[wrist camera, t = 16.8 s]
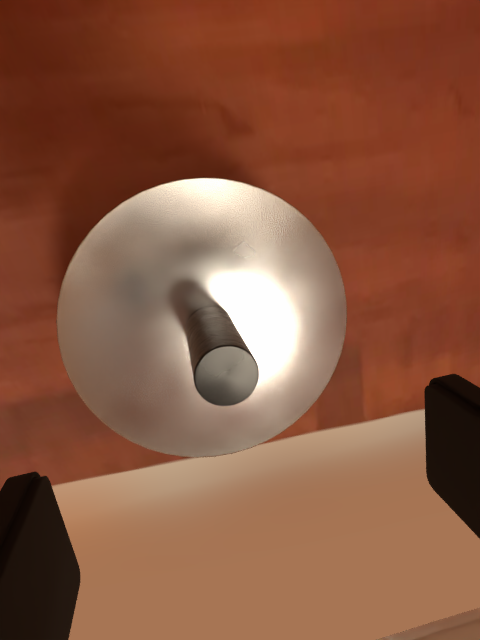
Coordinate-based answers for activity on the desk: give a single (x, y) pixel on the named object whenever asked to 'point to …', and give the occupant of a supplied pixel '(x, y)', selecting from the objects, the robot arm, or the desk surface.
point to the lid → (201, 317)
